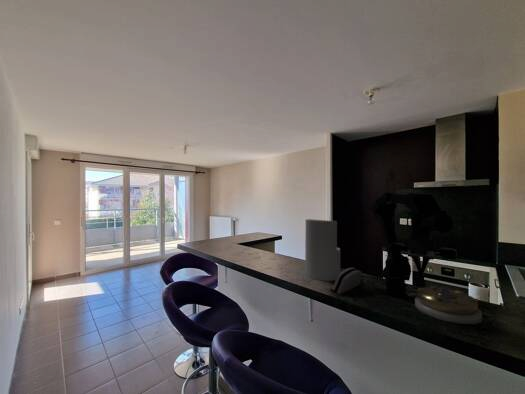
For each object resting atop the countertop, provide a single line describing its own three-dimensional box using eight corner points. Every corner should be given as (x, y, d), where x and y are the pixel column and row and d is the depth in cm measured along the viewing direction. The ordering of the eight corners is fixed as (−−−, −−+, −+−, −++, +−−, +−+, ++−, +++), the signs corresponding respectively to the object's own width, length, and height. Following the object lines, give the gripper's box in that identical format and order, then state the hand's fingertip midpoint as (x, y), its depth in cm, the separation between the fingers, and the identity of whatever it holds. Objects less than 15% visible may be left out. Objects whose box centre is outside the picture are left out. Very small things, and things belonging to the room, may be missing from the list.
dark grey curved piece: (348, 282, 110) (355, 263, 108) (357, 288, 107) (365, 268, 105) (328, 290, 99) (335, 269, 97) (338, 297, 96) (345, 276, 94)
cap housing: (417, 296, 94) (417, 291, 94) (479, 309, 82) (479, 303, 83) (411, 312, 80) (411, 306, 80) (485, 330, 68) (485, 323, 68)
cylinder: (325, 283, 109) (325, 221, 110) (298, 273, 123) (298, 219, 124) (347, 276, 119) (347, 220, 120) (320, 268, 133) (320, 218, 134)
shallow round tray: (420, 292, 92) (420, 273, 93) (475, 303, 82) (475, 282, 83) (415, 305, 80) (415, 284, 80) (480, 320, 70) (479, 296, 70)
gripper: (385, 229, 81) (385, 275, 81) (455, 234, 69) (456, 288, 69) (392, 227, 90) (392, 269, 89) (456, 231, 78) (457, 279, 77)
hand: (421, 275), depth 81 cm, fingers closed
